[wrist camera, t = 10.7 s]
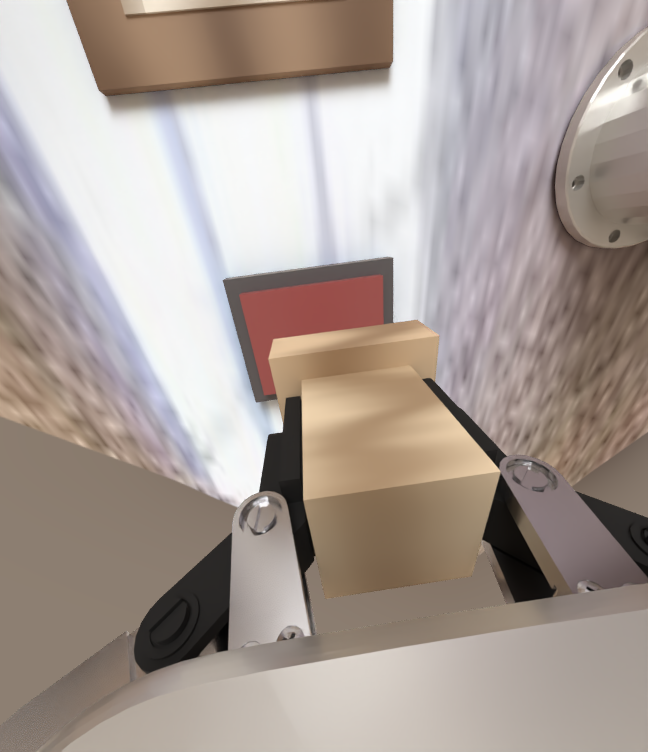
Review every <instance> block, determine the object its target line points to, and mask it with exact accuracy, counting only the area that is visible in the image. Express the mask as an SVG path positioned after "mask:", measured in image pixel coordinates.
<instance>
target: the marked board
mask: <svg viewBox="0 0 648 752" xmlns="http://www.w3.org/2000/svg"><path fill="white" fill-rule="evenodd" d="M67 3H68V6H69V9H70V12H71V14H72V17H73V20H74V23H75V25H76V28H77V31H78V34H79V36H80V39H81V42H82V45H83V48H84V50H85V53H86V56H87V59H88V61H89V64H90V67H91V70H92V73H93V75H94V78H95V81H96V84H97V86H98V89H99V91H100V92H102V93H103V94H104V95H105V96H110V95H120V94H131V93H141V92H151V91H161V90H171V89H181V88H191V87H201V86H211V85H221V84H231V83H241V82H251V81H261V80H271V79H281V78H291V77H301V76H311V75H321V74H331V73H341V72H351V71H361V70H371V69H381V68H389V67H390V66H391V64H392V62H393V0H67Z"/></svg>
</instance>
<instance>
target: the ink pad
mask: <svg viewBox="0 0 648 752" xmlns="http://www.w3.org/2000/svg"><path fill="white" fill-rule="evenodd" d="M223 283H224V286H225V290H226V294H227V297H228V301H229V305H230V308H231V312H232V316H233V320H234V323H235V327H236V331H237V334H238V338H239V342H240V345H241V349H242V353H243V356H244V360H245V364H246V367H247V371H248V375H249V379H250V382H251V386H252V390H253V393H254V397H255V401H256V402H262V401H268V400H275V399H277V394H276V390H275V386H274V381H273V377H272V373H271V368H270V364H269V360H268V358H269V355H270V351H271V347H272V343H273V339H279V338H286V337H294V336H301V335H309V334H316V333H323V332H331V331H338V330H346V329H353V328H361V327H368V326H375V325H383V324H390V323H393V258H392V257H383V258H375V259H368V260H360V261H353V262H345V263H337V264H330V265H322V266H315V267H307V268H300V269H292V270H285V271H277V272H269V273H262V274H254V275H247V276H239V277H232V278H226V279H224V280H223Z"/></svg>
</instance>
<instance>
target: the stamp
mask: <svg viewBox="0 0 648 752" xmlns="http://www.w3.org/2000/svg"><path fill="white" fill-rule="evenodd" d="M438 345H439V335H438V334H436V333H435V332H433V331H432V330H431V329H429V328H428V327H426V326H425V325H424V324H422V323H421V322H419V321H418V320H413V321H405V322H398V323H390V324H383V325H375V326H368V327H361V328H353V329H346V330H338V331H331V332H323V333H316V334H309V335H301V336H294V337H286V338H279V339H273V343H272V347H271V351H270V355H269V358H268V360H269V364H270V368H271V373H272V377H273V381H274V386H275V390H276V394H277V399H278V403H279V407H280V412H281V416H282V420H283V424H284V413H285V401H286V398H288V397H295V396H300V397H301V399H302V445H303V501H304V506H305V510H306V514H307V519H308V523H309V528H310V532H311V537H312V541H313V546H314V550H315V555H316V559H317V564H318V568H319V572H320V577H321V582H322V586H323V590H324V595H325V598H326V599H327V598H334V597H341V596H347V595H353V594H360V593H366V592H373V591H379V590H385V589H392V588H398V587H405V586H411V585H418V584H425V583H431V582H438V581H444V580H450V579H457V578H464V577H470V576H472V573H473V570H474V566H475V562H476V559H477V555H478V552H479V548H480V545H481V541H482V537H483V534H484V530H485V527H486V523H487V519H488V516H489V512H490V509H491V505H492V501H493V498H494V494H495V491H496V487H497V483H498V480H499V476H500V473H501V471H500V470H499V469H498V467H497V466H496V465H495V464H494V463H493V462H492V460H491V459H490V458H489V457H488V456H487V455H486V453H485V452H484V451H483V450H482V449H481V448H480V446H479V445H478V444H477V443H476V442H475V441H474V439H473V438H472V437H471V436H470V435H469V434H468V432H467V431H466V430H465V429H464V428H463V427H462V425H461V424H460V423H459V422H458V421H457V420H456V418H455V417H454V416H453V415H452V414H451V413H450V411H449V410H448V409H447V408H446V407H445V406H444V404H443V403H442V402H441V401H440V400H439V399H438V397H437V396H436V395H435V394H434V393H433V391H432V390H431V389H430V388H429V387H428V386H427V384H426V383H425V382H424V381H423V380H422V379H425V378H431V379H432V380H433V381H434V382H435V377H436V366H437V356H438Z"/></svg>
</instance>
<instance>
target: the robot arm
mask: <svg viewBox="0 0 648 752" xmlns="http://www.w3.org/2000/svg"><path fill="white" fill-rule="evenodd" d="M555 194H556V205H557V209H558V212H559V216H560V219H561V221H562V223H563V225H564V226H565V228H566V230H567V232H568V233H569V234H570V235H571V236H573V237H574V238H575V239H576V240H577V241H579V242H581V243H583V244H585V245H587V246H591V247H596V248H623V247H629V246H633V245H636V244H639V243H642V242H644V241H647V240H648V27H646V28H645V29H643V30H642V31H640V32H639V33H637V34H636V35H635V36H634V37H633V38H632V39H631V40H630V41H628V42H627V43H626V44H625V45H624V46H623V47H622V48H621V49H619V50H618V51H617V52H616V54H615V55H614V56H613V57H612V58H611V59H610V61H609V62H608V63H607V64H606V65H605V66H604V68H603V69H602V70H601V71H600V72H599V74H598V75H597V77H596V78H595V80H594V81H593V83H592V84H591V85H590V87H589V88H588V90H587V91H586V93H585V94H584V96H583V98H582V100H581V102H580V104H579V106H578V108H577V109H576V111H575V113H574V115H573V117H572V119H571V122H570V124H569V127H568V130H567V132H566V135H565V138H564V140H563V143H562V147H561V151H560V155H559V159H558V163H557V170H556V181H555ZM422 380H423V381H424V382H425V383H426V384H427V386H428V387H429V388H430V389H431V390H432V391H433V393H434V394H435V395H436V396H437V397H438V399H439V400H440V401H441V402H442V403H443V404H444V406H445V407H446V408H447V409H448V410H449V411H450V413H451V414H452V415H453V416H454V417H455V418H456V420H457V421H458V422H459V423H460V424H461V425H462V427H463V428H464V429H465V430H466V431H467V432H468V434H469V435H470V436H471V437H472V438H473V439H474V441H475V442H476V443H477V444H478V445H479V446H480V448H481V449H482V450H483V451H484V452H485V453H486V455H487V456H488V457H489V458H490V459H491V460H492V462H493V463H494V464H495V465H496V466H497V467H498V469H499V470H500V471H501V473H500V476H499V480H498V483H497V487H496V491H495V494H494V498H493V501H492V505H491V509H490V512H489V516H488V519H487V523H486V527H485V530H484V534H483V537H482V545H483V547H484V550H485V552H486V554H487V557H488V559H489V562H490V564H491V567H492V569H493V572H494V574H495V577H496V579H497V582H498V584H499V587H500V589H501V592H502V594H503V597H504V599H505V602H506V605H500V606H493V607H487V608H480V609H474V610H468V611H461V612H455V613H449V614H442V615H436V616H429V617H424V618H417V619H411V620H404V621H398V622H392V623H386V624H380V625H374V626H367V627H361V628H355V629H349V630H343V631H336V632H331V633H324V634H319V635H317V631H316V625H315V620H314V616H313V609H312V604H311V599H310V594H309V589H308V584H307V578H306V573H305V572H306V570H307V569H308V568H309V567H310V565H311V564H312V563H313V561H314V556H316V555H315V550H314V546H313V541H312V537H311V532H310V528H309V523H308V519H307V514H306V510H305V506H304V501H303V445H302V399H301V397H300V396H295V397H288V398H286V401H285V413H284V424H283V432H282V433H275V434H269V435H268V440H267V446H266V452H265V459H264V465H263V471H262V477H261V484H260V490H259V493H256V494H254V495H252V496H250V497H249V498H247V499H246V500H245V501H244V502H243V503H242V504H241V505H240V506H239V507H238V509H237V511H236V513H235V515H234V519H233V526H232V533H231V534H230V535H229V536H227V537H226V538H225V539H224V540H223V541H222V542H221V543H220V544H219V545H218V546H217V547H216V548H214V549H213V550H212V551H211V552H210V553H209V554H208V555H207V556H206V557H205V558H204V559H202V561H200V562H199V563H198V564H197V565H196V566H195V567H194V568H193V569H192V570H190V571H189V572H188V573H187V574H186V575H185V576H184V577H183V578H182V579H181V580H180V581H178V583H176V584H175V585H174V586H173V587H172V588H171V589H170V590H169V591H168V592H167V593H165V594H164V595H163V596H162V597H161V598H160V599H159V600H158V601H157V602H156V603H155V604H154V606H153V607H152V608H151V609H150V610H149V612H148V613H147V615H146V616H145V618H144V619H143V621H142V623H141V625H140V627H139V628H138V629H136V630H135V631H133V632H132V633H131V634H129V633H128V632H127V631H126V632H124V633H123V634H121V635H120V636H119V637H117V638H116V639H115V640H113V641H112V642H110V643H109V644H108V645H106V646H105V647H104V648H102V649H101V650H100V651H98V652H97V653H95V654H94V655H93V656H91V657H90V658H89V659H87V660H86V661H84V662H83V663H82V664H80V665H79V666H78V667H76V668H75V669H73V670H72V671H71V672H70V673H68V674H67V675H65V676H64V677H62V678H61V679H60V680H58V681H57V682H56V683H54V684H53V685H52V686H50V687H49V688H47V689H46V690H45V691H43V692H42V693H41V694H39V695H38V696H36V697H35V698H34V699H32V700H31V701H30V702H28V703H27V704H25V705H24V706H23V707H21V708H20V709H19V710H18V711H16V712H15V713H14V714H13V715H12V716H11V717H10V718H8V719H7V720H6V721H5V722H4V723H3V724H2V725H1V726H0V752H648V518H647V517H644V516H641V515H639V514H636V513H633V512H631V511H628V510H625V509H622V508H619V507H617V506H614V505H612V504H609V503H606V502H603V501H601V500H598V499H595V498H592V497H590V496H587V495H584V494H581V493H579V492H576V491H574V489H573V488H572V487H571V486H570V485H569V483H568V482H567V481H566V480H565V479H564V477H563V476H562V475H561V474H560V473H559V472H558V471H557V470H556V469H555V468H553V467H552V466H550V465H549V464H547V463H546V462H543V461H541V460H539V459H536V458H533V457H529V456H525V455H510V456H506V455H505V454H504V453H503V452H502V451H501V450H500V449H499V448H498V447H497V446H496V444H495V443H494V442H493V441H492V440H491V439H490V438H489V437H488V436H487V435H486V434H485V433H484V432H483V431H482V430H481V429H480V428H479V427H478V425H477V424H476V423H475V422H474V421H473V420H472V419H471V418H470V417H469V416H468V415H467V414H466V413H465V412H464V411H463V410H462V409H461V408H459V407H458V406H457V405H456V404H455V403H454V402H453V401H452V400H451V399H450V398H449V397H448V396H447V395H446V393H445V392H444V391H443V390H442V389H441V388H440V387H439V386H438V385H437V384H436V383H435V382H434V381H433V380H432V379H431V378H425V379H422Z"/></svg>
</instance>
